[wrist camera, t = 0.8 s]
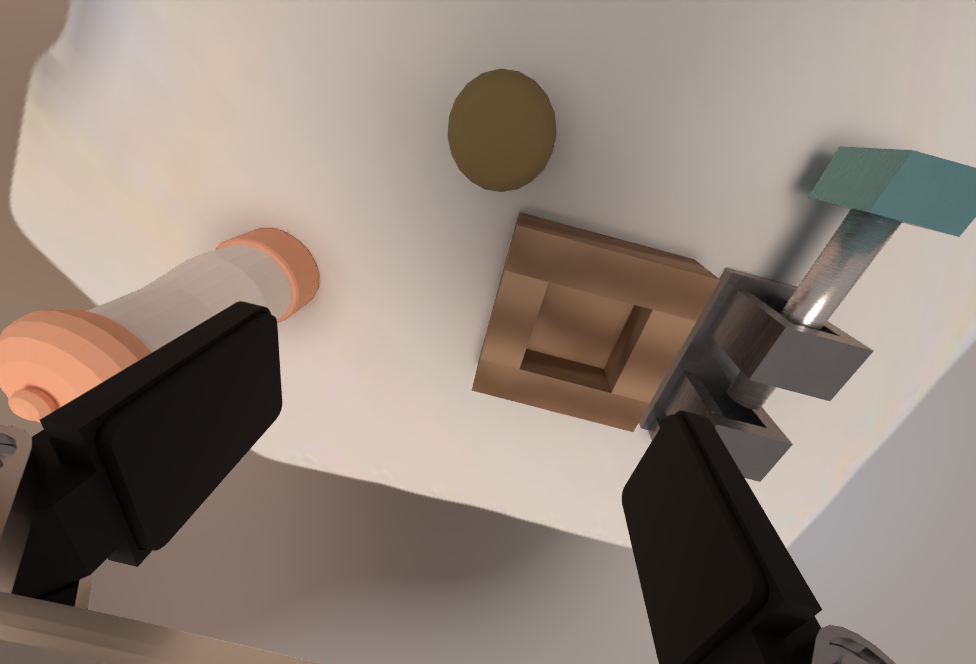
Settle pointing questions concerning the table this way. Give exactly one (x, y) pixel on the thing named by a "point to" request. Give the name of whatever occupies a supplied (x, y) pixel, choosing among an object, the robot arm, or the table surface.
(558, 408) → the walnut holder
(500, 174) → the olive brown pear shape
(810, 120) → the table surface
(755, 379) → the shaft bracket
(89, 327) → the salt shaker
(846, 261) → the steel shaft
